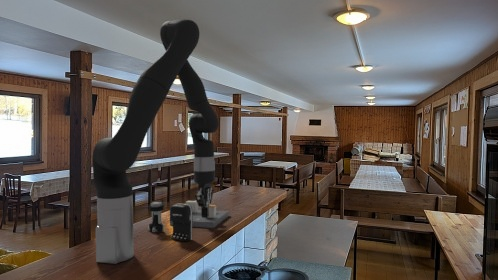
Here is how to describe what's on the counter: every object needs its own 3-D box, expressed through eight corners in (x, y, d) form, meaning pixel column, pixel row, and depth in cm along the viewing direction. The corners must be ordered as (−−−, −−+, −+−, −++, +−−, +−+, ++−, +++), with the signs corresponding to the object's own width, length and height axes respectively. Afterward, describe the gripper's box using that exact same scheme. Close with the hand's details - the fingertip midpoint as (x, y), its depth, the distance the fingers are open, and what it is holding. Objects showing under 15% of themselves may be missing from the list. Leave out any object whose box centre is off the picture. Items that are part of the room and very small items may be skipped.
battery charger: (168, 240, 113) (167, 204, 113) (175, 237, 117) (175, 202, 116) (186, 243, 110) (185, 206, 110) (193, 239, 114) (193, 204, 113)
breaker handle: (214, 217, 132) (214, 206, 131) (203, 217, 133) (203, 206, 132) (216, 216, 134) (216, 205, 134) (206, 215, 135) (206, 204, 135)
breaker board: (213, 228, 127) (213, 210, 127) (169, 225, 131) (169, 207, 131) (228, 215, 144) (228, 199, 144) (189, 213, 148) (189, 198, 148)
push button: (142, 232, 123) (141, 203, 122) (153, 228, 128) (152, 200, 127) (157, 234, 120) (156, 205, 119) (167, 230, 124) (167, 202, 124)
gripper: (207, 171, 120) (208, 222, 121) (220, 167, 133) (221, 213, 134) (187, 171, 122) (187, 221, 123) (201, 167, 135) (202, 212, 136)
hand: (205, 217), depth 128 cm, fingers closed
